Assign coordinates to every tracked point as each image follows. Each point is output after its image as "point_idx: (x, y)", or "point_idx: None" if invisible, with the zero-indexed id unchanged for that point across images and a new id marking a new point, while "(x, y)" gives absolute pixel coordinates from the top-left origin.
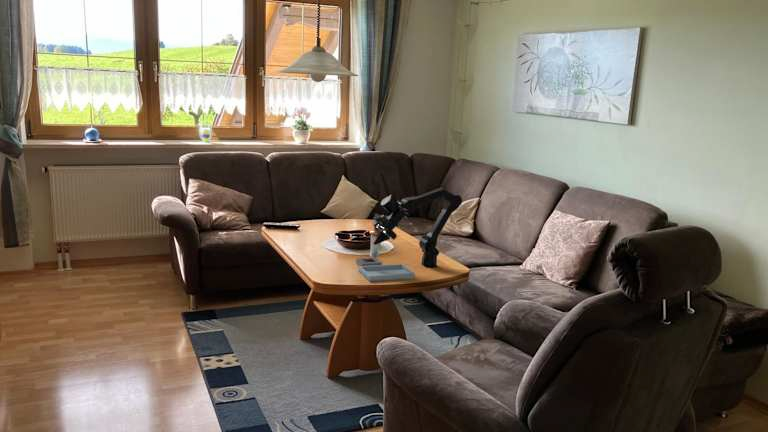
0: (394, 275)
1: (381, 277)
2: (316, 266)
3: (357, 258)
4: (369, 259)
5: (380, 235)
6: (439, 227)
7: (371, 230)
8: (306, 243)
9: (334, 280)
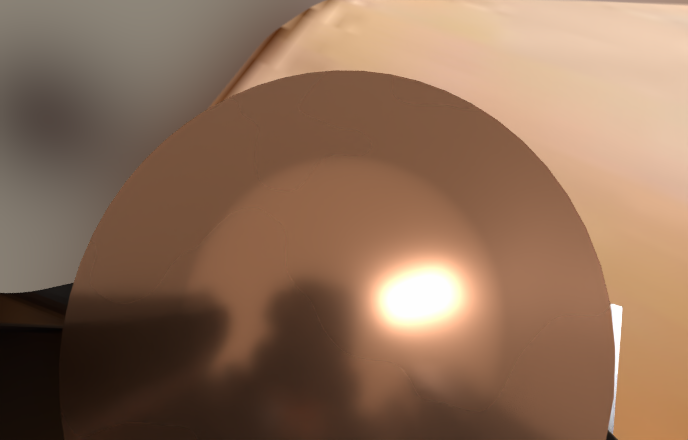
0: None
1: None
2: (606, 63)
3: (616, 316)
4: None
5: (64, 286)
6: None
7: (514, 214)
8: None
9: (331, 52)
